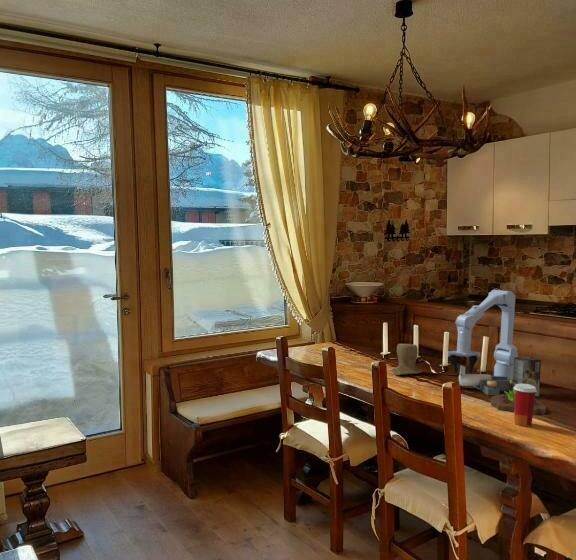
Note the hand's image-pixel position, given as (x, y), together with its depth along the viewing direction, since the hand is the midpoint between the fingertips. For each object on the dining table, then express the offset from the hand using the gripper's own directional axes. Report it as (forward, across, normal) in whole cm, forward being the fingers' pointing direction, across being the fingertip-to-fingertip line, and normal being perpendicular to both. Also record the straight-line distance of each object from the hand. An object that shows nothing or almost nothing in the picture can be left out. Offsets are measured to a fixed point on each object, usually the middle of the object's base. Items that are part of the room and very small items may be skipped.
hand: (462, 372), depth 250 cm
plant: (+8, +13, -27) cm, 31 cm away
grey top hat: (+8, -19, +26) cm, 33 cm away
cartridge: (+6, +6, 0) cm, 8 cm away
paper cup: (+7, +5, -49) cm, 50 cm away
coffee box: (+7, +25, -9) cm, 27 cm away
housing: (+7, +15, -3) cm, 17 cm away
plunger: (+6, +10, -8) cm, 15 cm away
